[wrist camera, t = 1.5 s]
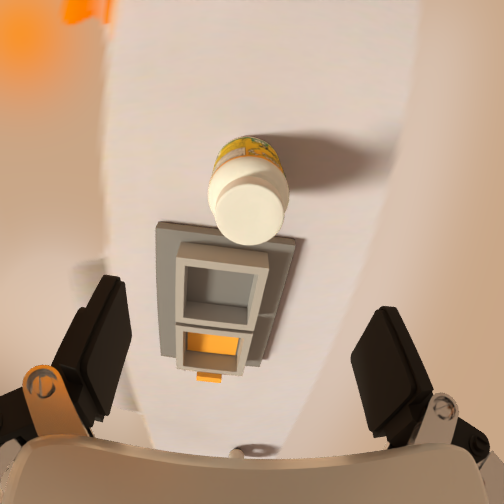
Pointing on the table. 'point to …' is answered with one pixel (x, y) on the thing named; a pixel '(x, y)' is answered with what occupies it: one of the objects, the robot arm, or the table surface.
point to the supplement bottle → (248, 191)
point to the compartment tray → (217, 298)
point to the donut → (236, 454)
